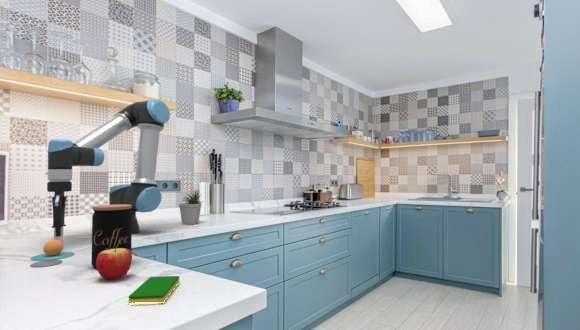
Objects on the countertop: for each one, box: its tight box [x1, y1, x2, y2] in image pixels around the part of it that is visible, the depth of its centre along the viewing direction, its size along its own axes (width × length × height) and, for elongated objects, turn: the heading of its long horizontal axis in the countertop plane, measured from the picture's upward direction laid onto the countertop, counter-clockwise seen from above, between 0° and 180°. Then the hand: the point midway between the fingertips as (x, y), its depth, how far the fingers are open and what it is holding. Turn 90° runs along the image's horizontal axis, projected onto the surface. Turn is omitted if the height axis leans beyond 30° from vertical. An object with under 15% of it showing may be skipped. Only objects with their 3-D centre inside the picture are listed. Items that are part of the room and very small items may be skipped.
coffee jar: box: [91, 204, 133, 270], centre depth 100 cm, size 11×11×18 cm
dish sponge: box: [128, 275, 180, 304], centre depth 75 cm, size 7×14×2 cm, turn 5°
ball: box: [42, 239, 64, 256], centre depth 112 cm, size 6×6×6 cm
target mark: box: [30, 251, 75, 262], centre depth 112 cm, size 12×12×1 cm
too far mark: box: [29, 259, 63, 268], centre depth 102 cm, size 8×8×1 cm
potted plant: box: [178, 189, 205, 226], centre depth 190 cm, size 13×14×20 cm
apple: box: [96, 239, 133, 281], centre depth 87 cm, size 8×8×10 cm
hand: (58, 244), depth 122 cm, fingers closed
